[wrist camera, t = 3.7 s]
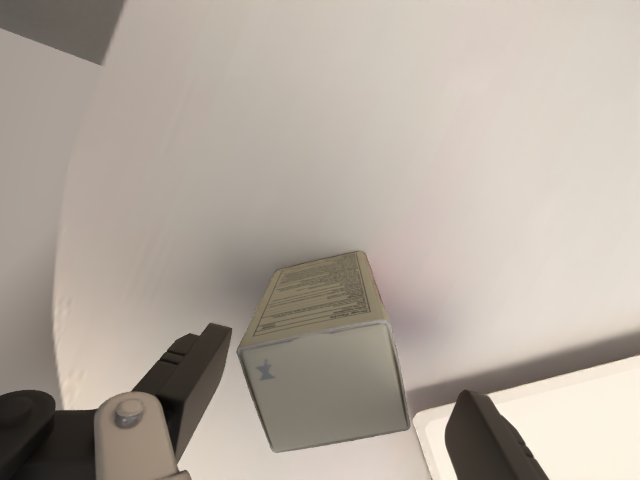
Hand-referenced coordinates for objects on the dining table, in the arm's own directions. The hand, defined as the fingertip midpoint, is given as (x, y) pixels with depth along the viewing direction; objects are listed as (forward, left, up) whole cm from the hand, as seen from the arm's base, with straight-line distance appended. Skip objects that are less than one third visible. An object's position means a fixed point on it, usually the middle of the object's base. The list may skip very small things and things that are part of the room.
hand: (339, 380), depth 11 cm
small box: (0, 0, -8) cm, 8 cm away
